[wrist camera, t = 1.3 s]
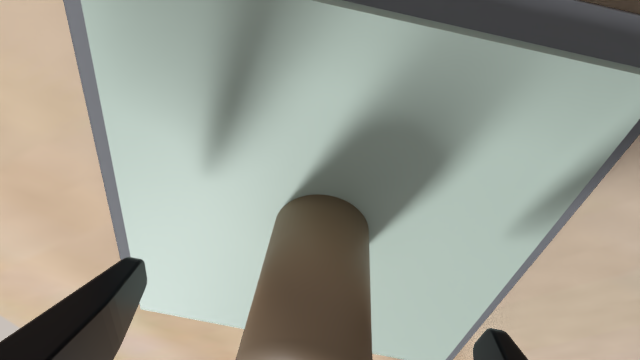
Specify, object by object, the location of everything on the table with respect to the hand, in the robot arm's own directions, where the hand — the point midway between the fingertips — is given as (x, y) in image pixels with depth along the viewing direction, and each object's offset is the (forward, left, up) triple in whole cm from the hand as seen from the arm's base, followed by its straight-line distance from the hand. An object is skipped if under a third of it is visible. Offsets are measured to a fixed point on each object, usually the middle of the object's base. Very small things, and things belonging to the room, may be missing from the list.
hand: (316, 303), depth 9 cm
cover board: (0, 0, -3) cm, 3 cm away
